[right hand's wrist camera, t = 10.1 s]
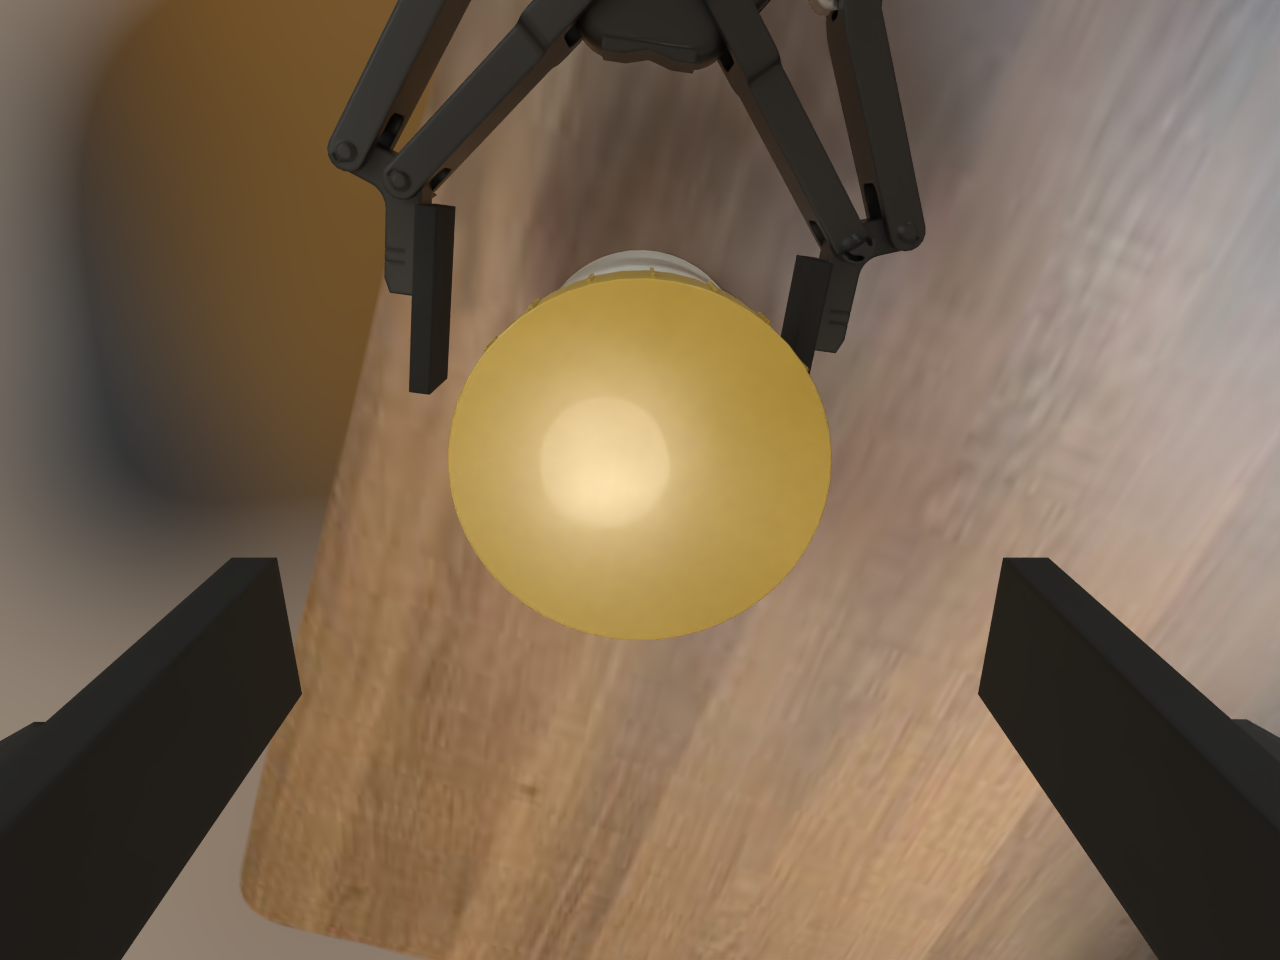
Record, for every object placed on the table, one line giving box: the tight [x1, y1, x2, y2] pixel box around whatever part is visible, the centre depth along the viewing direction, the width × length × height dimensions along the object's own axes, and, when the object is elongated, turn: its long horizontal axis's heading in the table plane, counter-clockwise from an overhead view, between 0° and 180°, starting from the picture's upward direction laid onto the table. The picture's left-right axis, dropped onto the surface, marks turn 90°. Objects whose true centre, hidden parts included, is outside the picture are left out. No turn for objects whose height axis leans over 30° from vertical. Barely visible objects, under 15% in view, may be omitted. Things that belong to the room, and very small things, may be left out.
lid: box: [448, 268, 832, 640], centre depth 21 cm, size 10×10×2 cm
